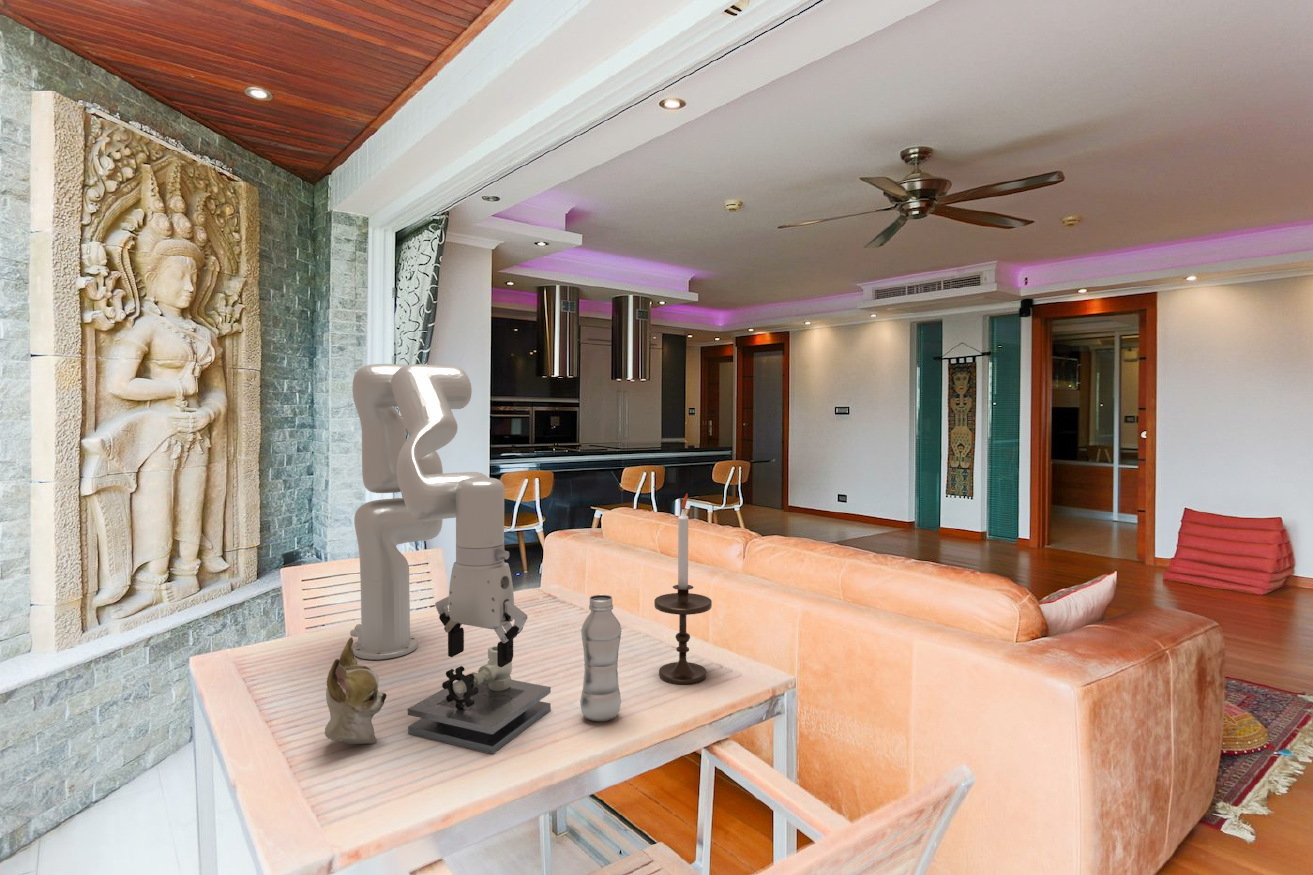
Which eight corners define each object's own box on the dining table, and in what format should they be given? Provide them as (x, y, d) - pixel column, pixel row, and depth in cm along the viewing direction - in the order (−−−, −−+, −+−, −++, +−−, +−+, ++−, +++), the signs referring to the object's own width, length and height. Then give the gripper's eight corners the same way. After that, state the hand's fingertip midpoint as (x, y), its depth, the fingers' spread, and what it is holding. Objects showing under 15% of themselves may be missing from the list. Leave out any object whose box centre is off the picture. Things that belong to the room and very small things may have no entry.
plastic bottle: (580, 709, 116) (580, 592, 115) (620, 708, 117) (620, 591, 116) (579, 727, 110) (579, 603, 109) (622, 725, 110) (622, 602, 110)
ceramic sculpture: (380, 759, 100) (379, 657, 99) (316, 765, 98) (314, 661, 97) (392, 725, 110) (391, 633, 110) (334, 730, 109) (332, 637, 108)
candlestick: (719, 670, 134) (720, 491, 132) (698, 691, 124) (699, 497, 123) (668, 661, 138) (668, 488, 137) (644, 680, 129) (645, 494, 127)
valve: (492, 678, 119) (442, 705, 109) (492, 641, 119) (441, 664, 108) (523, 685, 116) (474, 714, 106) (522, 647, 116) (473, 671, 105)
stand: (408, 733, 108) (407, 708, 107) (473, 694, 122) (473, 672, 122) (492, 754, 101) (492, 727, 101) (550, 710, 116) (550, 687, 116)
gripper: (538, 555, 111) (538, 660, 112) (452, 545, 117) (452, 643, 119) (511, 566, 104) (511, 677, 105) (421, 554, 111) (421, 658, 112)
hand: (480, 659), depth 112 cm, fingers open, 9 cm apart
